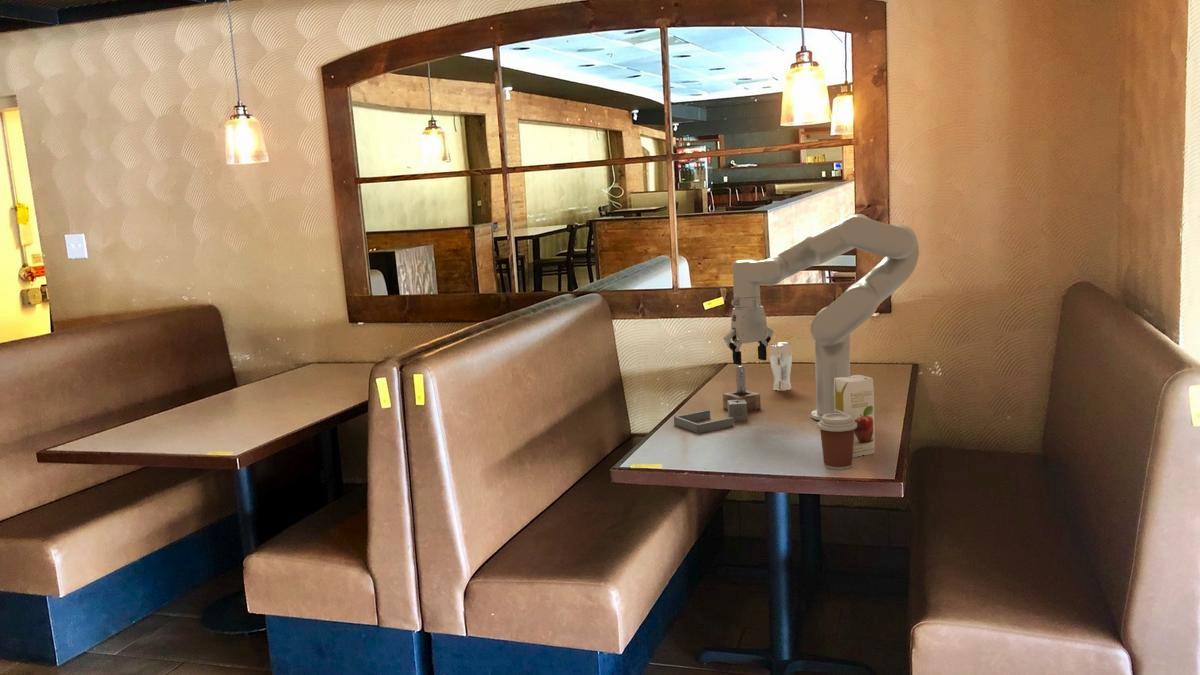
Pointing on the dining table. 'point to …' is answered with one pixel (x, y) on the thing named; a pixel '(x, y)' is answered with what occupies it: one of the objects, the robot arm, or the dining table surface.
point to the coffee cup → (837, 440)
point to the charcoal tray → (688, 423)
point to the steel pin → (740, 380)
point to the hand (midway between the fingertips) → (750, 361)
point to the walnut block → (750, 398)
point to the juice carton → (857, 409)
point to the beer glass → (781, 365)
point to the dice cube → (737, 409)
